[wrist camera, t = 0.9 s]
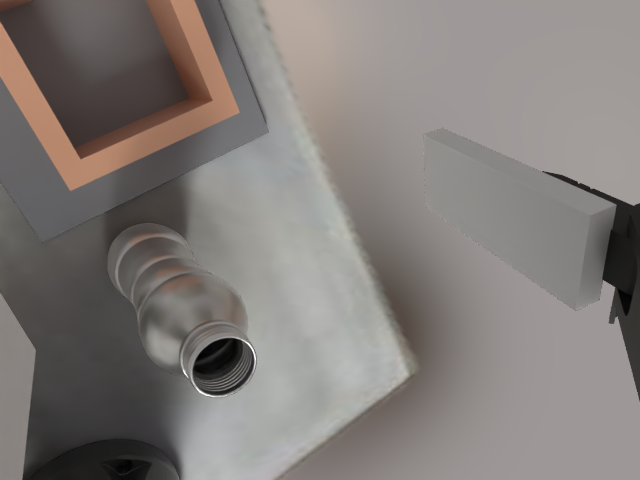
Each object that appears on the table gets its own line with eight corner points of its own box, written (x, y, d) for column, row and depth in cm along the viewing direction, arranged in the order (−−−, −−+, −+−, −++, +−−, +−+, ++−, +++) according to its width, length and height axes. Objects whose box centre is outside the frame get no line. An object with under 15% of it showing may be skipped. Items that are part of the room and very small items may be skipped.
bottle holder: (264, 131, 45) (300, 139, 39) (41, 239, 38) (44, 268, 33) (162, -131, 36) (189, -172, 30) (-153, -48, 29) (-195, -79, 24)
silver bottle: (133, 201, 41) (210, 284, 24) (199, 243, 45) (304, 341, 28) (85, 266, 41) (129, 396, 24) (155, 303, 44) (236, 438, 28)
